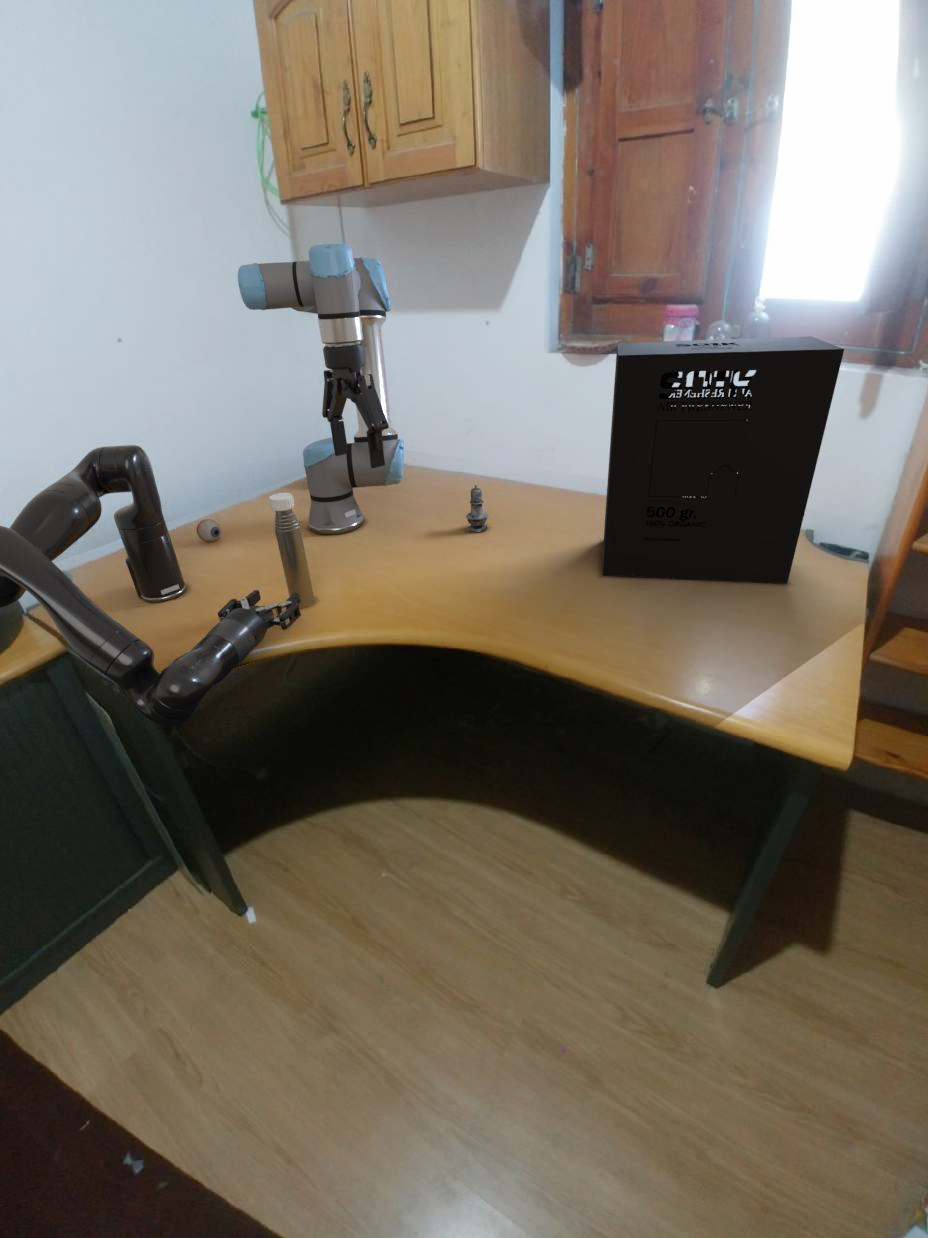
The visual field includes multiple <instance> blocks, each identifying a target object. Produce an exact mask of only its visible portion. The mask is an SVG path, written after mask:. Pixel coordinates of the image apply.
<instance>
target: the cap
mask: <svg viewBox="0 0 928 1238" xmlns="http://www.w3.org/2000/svg"><path fill="white" fill-rule="evenodd" d="M268 499H269V504H270V509H271V510H272V511H274V512H275V511H285V510H289V509H292V510H293V509H294V508H295V500H294V499H295V498H294V496H293V493H291V492H278V493H274V494H272V495H270V496H269V498H268Z"/></svg>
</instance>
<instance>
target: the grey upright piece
mask: <svg viewBox="0 0 928 1238" xmlns="http://www.w3.org/2000/svg"><path fill="white" fill-rule="evenodd" d="M482 492H483V491H482V489H481V488H480V487H478V485H477V484H475V485H474V487H473V488H471V490H470V501H469V504H470V512H469V513H467V514H466V516H465V518H466V520H467V522H468V524H469V526H468V527H467V530H468V531H469V532H472V533H480V532H485V531H487V530H488V526H487V525H486V523H487V520H488V517H489V514H488V513H487V512H484V509H483V504H484V500H483V494H482Z"/></svg>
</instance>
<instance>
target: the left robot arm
mask: <svg viewBox="0 0 928 1238" xmlns="http://www.w3.org/2000/svg"><path fill="white" fill-rule="evenodd" d="M118 493H119V494H120V493H121V494H122V493H131V495H132V502H131V503H128V504H126V505H125V506H122V507H120V508H119V509H117V510H116V511H115V512H114V513H113V520H114V522H115V525H116V528H117V531H118V533H119V536H120V539H121V541H122V544H123V547H124V551H125V552H126V555H127V557H126V558H125V564H126V567H127V570H128V572H129V575H130V577H131V580H132V583H133V585H134V588H135V591H136V595H137V597H138V598H139V599H142V600H143V601H144V602H146V603H163V602H167V601H171V600H173V599H176V598H178V597H181V595H183V594H184V593H186V591H187V588H188V587H187V584H186V582H185V580H184V576H183V574H182V570H181V566H180V563H179V560H178V557H177V554H176V551H175V548H174V545H173V542H172V538H171V534H170V532H169V530H168V526H167V523H166V520H165V517H164V514H163V510H162V509H163V508H162V502H161V497H160V494H159V490H158V486H157V482H156V478H155V474H154V470H153V467H152V462H151V460H150V458H149V456H148V454H147V452H146V451H145V450H144V448H143V447H141V446H140V445H136V444H125V445H109V446H108V445H107V446H100V447H96V448H94V449H91V450H90V451H89V452H88V453H87V454H86V455H85V456H84V457H83V458H82V459H81V460H80V461H79V462H78V463H77V464H76V466H75V467H74V468H73V469H71V470H70V471H69V472H67V473H66V474H64V475H63V476H62V477H61V478H59V479H58V480H56V481H55V482H53V483H51V484H50V485H48V486H47V487H46V488H44V489H43V490H41V491H40V492H39V493H37V494H35V496H34V497H32V498H31V499H30V501H28V502H27V503H26V504H25V506H23V508H22V510H20V513H19V514H18V515H17V516H16V517H15V520H14V521H13V522H12V524H10V526H9V527H8V526H3V525H0V609H1V608H5V607H8V606H10V605H12V604H14V603H17V602H18V601H19V600H20V599H21V598H22V597H23V596H24V594H25V593H26V592H28V593H29V594H30V595H31V596H33V598H35V600H36V601H37V602H38V603H39V604H40V605H41V607H42V608H43V609H44V610H45V611H46V613H47V615H48V616H49V617H50V619H51V620H52V621H53V623H54V625H55V626H56V628H57V630H58V631H59V632H60V634H61V636H62V637H63V640H64V641H65V643H67V644H68V646H69V647H70V649H72V650H73V652H74V653H75V654H76V655H77V656H78V657H79V658H81V659H82V660H83V661H84V662H86V663H87V664H88V665H90V666H91V667H93V668H94V669H96V671H98V672H100V673H101V674H102V675H103V676H105V677H107V678H108V679H110V680H112V682H114V683H115V684H116V685H117V686H118V687H119V689H120V690H121V692H122V693H123V694H124V696H126V698H127V699H128V700H129V702H130V703H132V705H133V706H135V708H136V709H137V710H138V711H139V712H140V713H141V714H142V715H143V716H144V717H145V718H146V719H148V720H149V721H150V722H152V723H155V724H157V725H159V726H162V727H169V728H174V727H179V726H181V725H183V724H185V723H186V722H187V721H189V719H190V718H191V716H192V715H193V714H194V712H195V710H196V709H197V708H198V706H199V704H200V703H201V702H202V700H203V699H204V697H205V696H206V694H207V693H208V692H209V691H210V690H211V688H212V687H213V686H215V685H218V684H219V683H220V682H222V681H223V680H224V679H225V678H226V677H227V676H228V675H229V674H230V673H231V672H232V671H233V669H235V668H236V667H237V666H238V665H239V664H241V663H242V662H243V661H244V660H246V658H248V656H250V654H251V653H252V652H253V651H254V650H255V649H256V648H257V647H258V646H259V644H261V643H262V642H263V640H264V639H265V637H266V635H267V631H268V630H269V629H271V628H273V627H274V626H278V627H280V629H281V631H286V630H288V629H289V628H290V627H291V626H292V625H293V624H294V623H295V622H296V621H297V620H298V619H299V618H300V617H301V616H302V613H301V608H299V604H300V603H301V600H300V595H299V594H298V593H293V594H292V595H291V596H289V597H288V598H287V599H286V601H283V602H281V603H278V602H274V603H271V604H268V605H257V604H258V603H259V602H260V601H261V594H260V593H261V592H260V591H259V590H258V589H254V590H253V591H251V592H250V593H248V594H247V595H246V596H245V597H241V598H240V599H239V600H237V598H231V599H230V600H229V601H227V602H226V604H224V605H223V606H222V607H221V609H219V610H218V611H217V616H218V620H219V621H218V622H217V623H216V624H215V625H214V626H213V627H212V628H210V629H209V631H208V632H207V633H206V635H205V636H204V637H203V638H202V639H201V640H200V641H198V643H196V644H195V645H194V646H193V647H192V648H191V649H190V650H189V651H187V652H185V653H184V654H182V655H180V656H178V657H177V658H175V659H174V660H172V661H171V662H170V663H169V664H168V665H166V667H164V668H163V669H162V671H160V672H159V671H158V670H157V668H156V666H155V651H154V650H153V648H152V647H151V646H150V645H148V644H147V643H146V642H145V641H143V640H142V639H141V638H139V637H138V636H137V635H135V634H134V633H132V632H131V631H130V630H128V629H127V628H126V627H124V626H123V625H122V624H120V623H119V622H118V621H116V620H115V619H114V618H112V616H109V615H108V614H107V613H106V612H105V611H103V610H102V609H101V608H100V607H99V606H98V605H96V604H95V602H93V600H91V599H90V597H88V596H87V595H86V594H85V593H84V592H83V591H82V590H81V589H80V587H78V586H77V585H76V583H74V582H73V581H72V580H71V579H70V577H68V576H67V575H66V574H65V572H63V571H62V569H60V568H59V566H57V565H56V564H55V562H54V560H56V559H57V558H58V557H60V556H61V555H62V554H63V553H64V552H66V551H67V550H68V549H69V548H70V547H71V546H72V545H74V544H75V543H76V542H77V541H79V540H80V539H81V538H82V537H83V536H85V535H86V534H87V533H88V532H89V531H90V530H91V529H92V528H93V527H94V526H95V525H96V524H97V523H98V521H99V520H100V518H101V516H102V509H103V508H102V502H101V499H100V498H102V497H104V496H105V495H109V494H118ZM284 608H285V610H284V611H283V610H282V609H284ZM273 610H275V614H276V615H274V612H273Z"/></svg>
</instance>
